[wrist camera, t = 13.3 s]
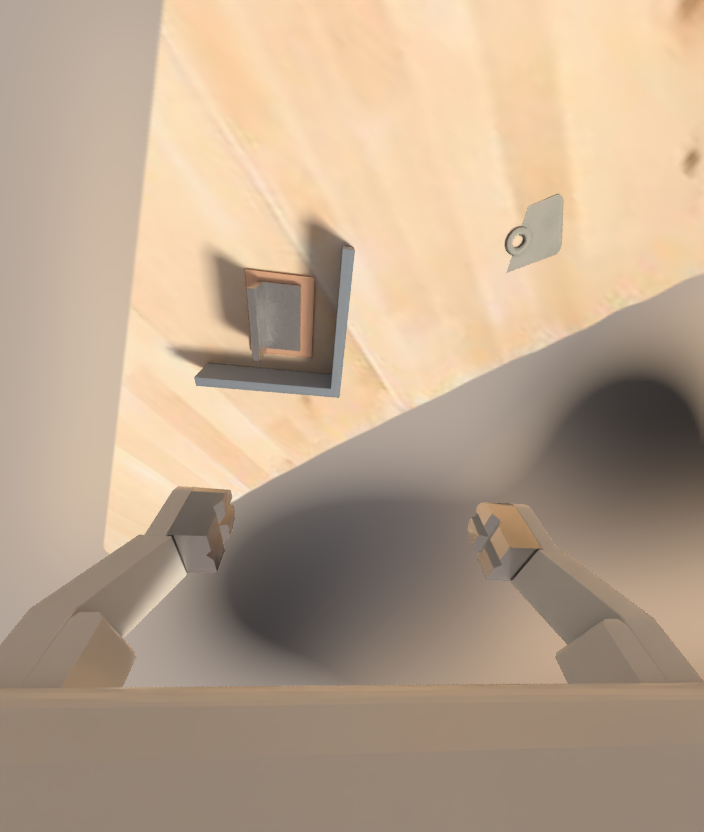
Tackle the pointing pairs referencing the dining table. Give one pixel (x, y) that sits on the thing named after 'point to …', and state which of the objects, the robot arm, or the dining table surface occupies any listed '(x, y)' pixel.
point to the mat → (306, 306)
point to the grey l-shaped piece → (285, 378)
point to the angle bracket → (274, 316)
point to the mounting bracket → (537, 233)
